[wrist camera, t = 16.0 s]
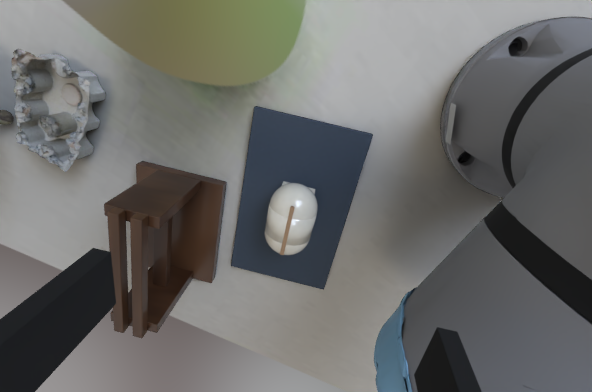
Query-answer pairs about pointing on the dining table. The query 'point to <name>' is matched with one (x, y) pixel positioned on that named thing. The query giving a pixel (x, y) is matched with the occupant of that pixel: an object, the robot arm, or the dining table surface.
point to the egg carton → (54, 107)
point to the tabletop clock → (5, 117)
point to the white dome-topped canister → (290, 218)
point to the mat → (305, 170)
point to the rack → (162, 242)
